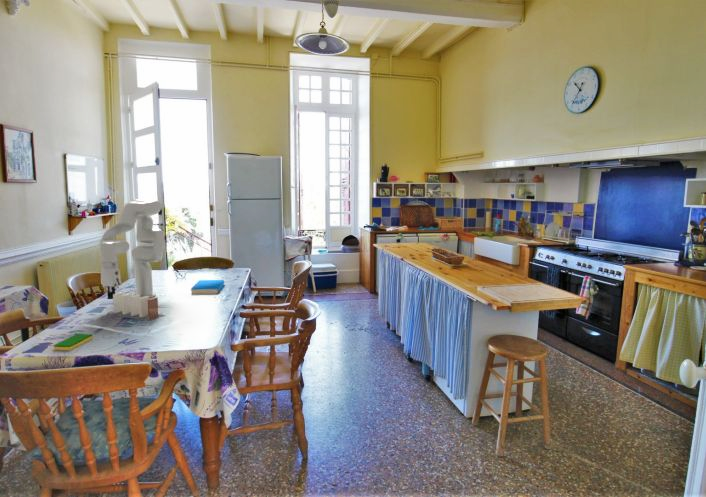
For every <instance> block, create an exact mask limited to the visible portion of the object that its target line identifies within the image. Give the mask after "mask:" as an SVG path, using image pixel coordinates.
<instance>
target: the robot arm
mask: <svg viewBox="0 0 706 497" xmlns="http://www.w3.org/2000/svg"><path fill="white" fill-rule="evenodd" d="M161 210H162V204H161V201H159V200H158V199H152V198H151V199H150V198H149V199H148V198H135V199H132V201H128V202H127V203H125V204H124V206H123V208H122V211H121V212H120V213H121V214H120V216H119V218H118V221H117V222H116V223H115V224H113V225H111V226H110V227H109V228H108V229H106V230H105V232H104V233H103V235H102V237H101V240H100V242H99V251H100V252H99V253H100V266H101V267H100V283H101V285H102V287H103V288H105V290H106V292H107V299H108V300H113V294H116V290H118V289H120V286H121V285H122V277H121V276H122V275H121V270H120V268H119V266H118V255H119V254H126V253H127V252H129V250H130V243H129V242H128V241H127V240H125V239H115V238H116V237H117V236H119V235H121V234H124V233H125V234H126V233H127V232H130V231H132V230H133V229H134V227H135V225H136V223H137V227H136V233H135V234H136V235H135V240H136V242H137V243H139V244H144V245H137V246H134V247H132V250H131V258H132V262H133V269H134V270H133V271H134V286H135V287H134V288H133V289H132V290H131V293H134V294H133V295H132V296H135V295H140V298H141V297H144V296H149V299H151V298H154V297H156V295H157V294H156V292H154V289H153V272H152V271H153V270H152V265H151V264H150V263H151V262H154V263H157V262H160V261H162V259H163V257H164V249H165V233H164V231H163V230H162V229H160V228H153V226H154V220H153V217H152V216H154V215H157V214H158V213H160V211H161ZM146 244H147V245H146Z"/></svg>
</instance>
